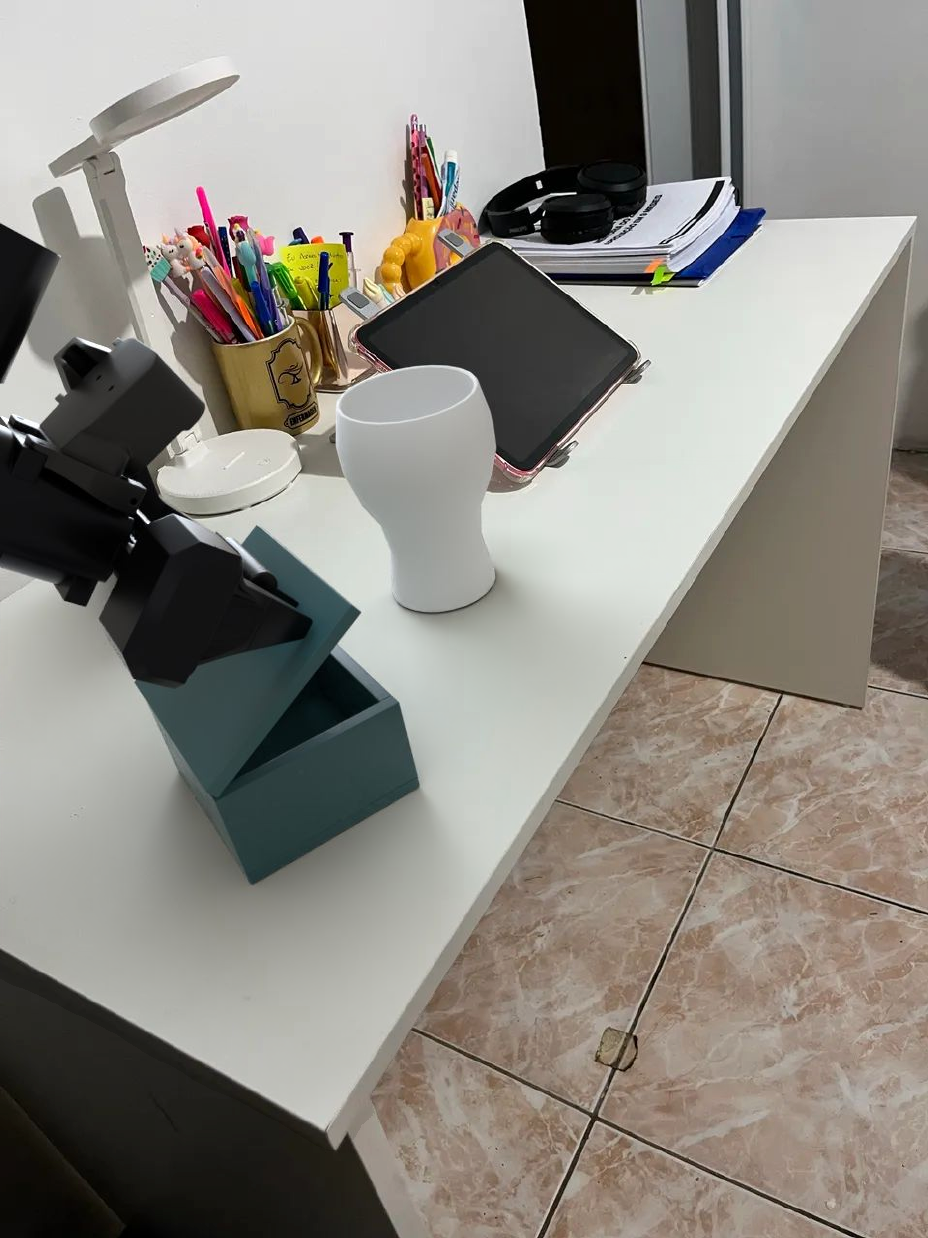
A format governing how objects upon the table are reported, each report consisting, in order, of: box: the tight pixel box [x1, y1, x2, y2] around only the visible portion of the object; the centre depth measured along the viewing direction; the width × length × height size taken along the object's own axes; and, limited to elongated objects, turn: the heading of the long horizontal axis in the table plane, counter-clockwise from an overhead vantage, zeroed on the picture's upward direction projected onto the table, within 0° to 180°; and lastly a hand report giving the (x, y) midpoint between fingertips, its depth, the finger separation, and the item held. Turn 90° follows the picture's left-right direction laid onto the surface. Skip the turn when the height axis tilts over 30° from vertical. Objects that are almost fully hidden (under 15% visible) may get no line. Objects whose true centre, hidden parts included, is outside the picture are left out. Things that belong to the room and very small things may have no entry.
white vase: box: [335, 364, 497, 613], centre depth 66 cm, size 11×11×15 cm
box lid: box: [134, 524, 362, 797], centre depth 49 cm, size 11×12×4 cm
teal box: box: [147, 643, 421, 885], centre depth 54 cm, size 11×12×6 cm
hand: (270, 591), depth 50 cm, fingers open, 9 cm apart
